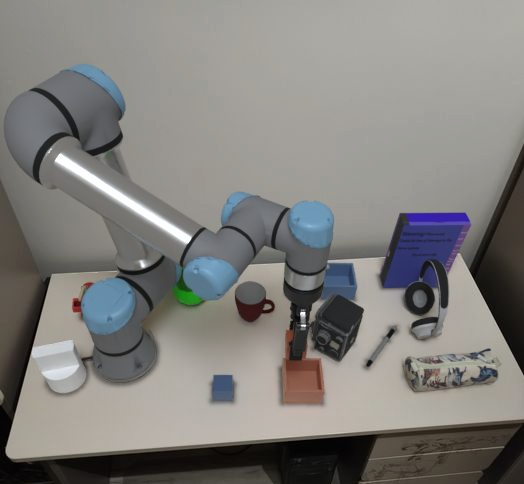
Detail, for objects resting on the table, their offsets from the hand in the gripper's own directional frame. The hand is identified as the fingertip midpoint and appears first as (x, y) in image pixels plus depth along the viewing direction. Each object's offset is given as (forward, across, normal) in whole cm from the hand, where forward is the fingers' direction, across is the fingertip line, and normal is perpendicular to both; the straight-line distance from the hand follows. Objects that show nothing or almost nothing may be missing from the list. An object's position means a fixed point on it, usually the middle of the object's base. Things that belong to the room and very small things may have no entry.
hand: (294, 349), depth 108 cm
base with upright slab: (+15, +1, +54) cm, 56 cm away
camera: (+15, +12, -11) cm, 22 cm away
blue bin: (+15, +32, -15) cm, 38 cm away
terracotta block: (0, 0, 0) cm, 0 cm away
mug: (+15, +21, +9) cm, 27 cm away
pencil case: (+16, +2, -38) cm, 42 cm away
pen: (+15, +12, -25) cm, 31 cm away
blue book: (+15, +35, -37) cm, 53 cm away
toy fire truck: (+15, +22, +53) cm, 60 cm away
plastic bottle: (+14, +26, +26) cm, 40 cm away
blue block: (+15, -3, +16) cm, 22 cm away
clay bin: (+15, 0, -3) cm, 15 cm away
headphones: (+15, +20, -36) cm, 44 cm away
